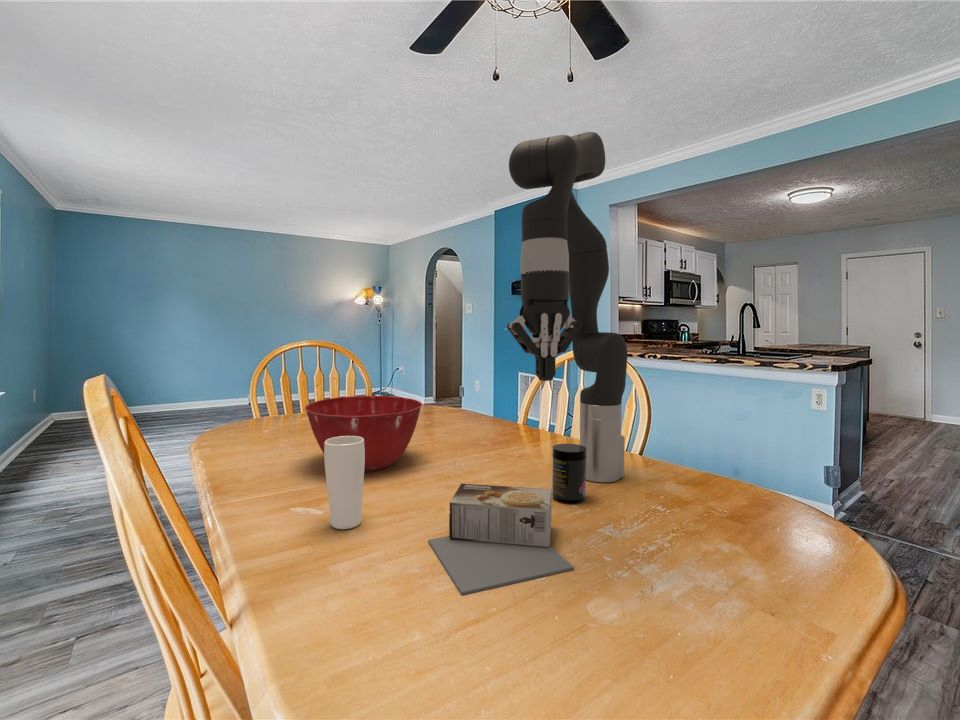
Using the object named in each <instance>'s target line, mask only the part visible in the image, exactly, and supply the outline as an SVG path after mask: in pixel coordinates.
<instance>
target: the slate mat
mask: <svg viewBox="0 0 960 720" xmlns="http://www.w3.org/2000/svg"><path fill="white" fill-rule="evenodd" d="M427 541H428V544H429V546H430V547H431V549H432V551H433V552H434V554H435V555H436V557H437V558H438V560H439V562H440V563H441V565H442V567H443V568H444V570H445V572H446V573H447V574H448V577H449V578H450V579H451V580H452V582H453V584H454V586H455V587H456V590H458V592H459V594H460V595H461V596H466V595H468V594H473V593H477V592H478V593H479V592H482V591H487V590H491V589H494V588H500V587H504V586H508V585H513V584H517V583H521V582H526V581H530V580H535V579H538V578H545V577H547V576H552V575H556V574H560V573H565V572H570V571H574V570H575V566H574V565H573V564H571V563H570V562H569V561H568V560H567V559H566V558H564V557H563V556H562V555H561V554H560V553H559V552H557V551H556V550H555V549H554V548H552V546H551V545H549V547H540V546H528V545H517V544H505V543H493V542H481V541H469V540H458V539H450V538H449V535H447V536H441V537H436V538H431V539H428V540H427Z"/></svg>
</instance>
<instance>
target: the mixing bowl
mask: <svg viewBox="0 0 960 720" xmlns="http://www.w3.org/2000/svg"><path fill="white" fill-rule="evenodd" d="M422 407H423V403H422V402H421V401H419V400H417V399H413V398H409V397H402V396H392V395H391V396H389V395H357V396H353V395H352V396H342V397H341V396H340V397H333V398H326V399H320V400H316V401H313V402H310V403H308V404H306V405H305V406H304V411H306V415H307V417H308V421H309V425H310V427H311V430H312V433H313V435H314V439H315V440H316V442H317V445H318V446H319V448H320V450H321V451H322V453H323V454H324V444H325V441H326V440H327V439H330V438H333V437H339V436H358V437H362V438H363V439H364V445H365V469H364V473H365V472H366V473H367V472H375V471H380V470H383V469H386V468H388V467H390V466H391V465H393V464H394V463H396V462H397V461H398V460H399V459H400V458H401V457H403V455H404V454H405V451H406V450H407V448H408V446H409V443H411V440H412V437H413V434H414V432H415V430H416V426H417V424H418V420H419V416H420V413H421V408H422Z"/></svg>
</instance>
